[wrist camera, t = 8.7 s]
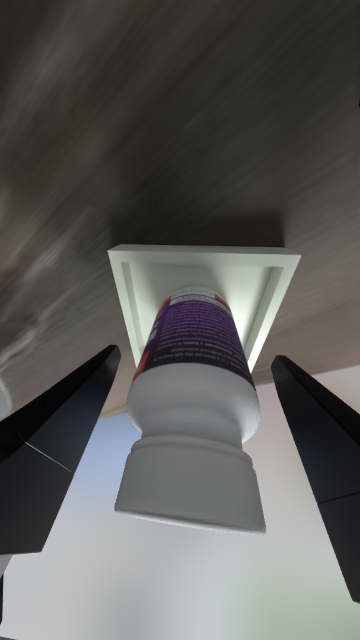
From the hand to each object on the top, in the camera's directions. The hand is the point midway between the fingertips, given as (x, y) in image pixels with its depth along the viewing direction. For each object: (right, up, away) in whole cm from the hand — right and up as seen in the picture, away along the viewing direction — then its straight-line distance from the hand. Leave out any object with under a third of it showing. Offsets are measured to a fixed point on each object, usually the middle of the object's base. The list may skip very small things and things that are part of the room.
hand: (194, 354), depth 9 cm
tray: (0, +3, +3) cm, 4 cm away
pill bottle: (0, +2, +3) cm, 4 cm away
